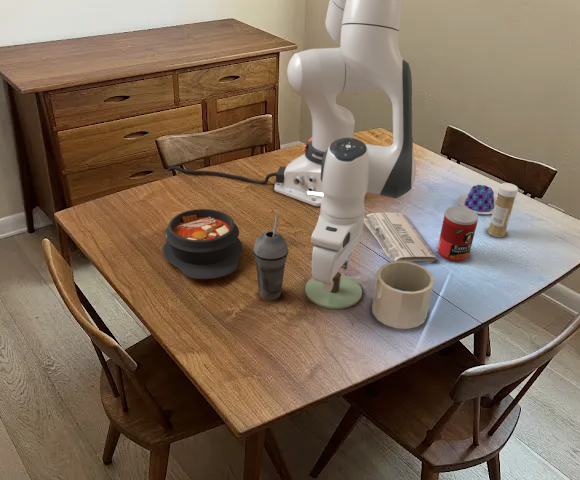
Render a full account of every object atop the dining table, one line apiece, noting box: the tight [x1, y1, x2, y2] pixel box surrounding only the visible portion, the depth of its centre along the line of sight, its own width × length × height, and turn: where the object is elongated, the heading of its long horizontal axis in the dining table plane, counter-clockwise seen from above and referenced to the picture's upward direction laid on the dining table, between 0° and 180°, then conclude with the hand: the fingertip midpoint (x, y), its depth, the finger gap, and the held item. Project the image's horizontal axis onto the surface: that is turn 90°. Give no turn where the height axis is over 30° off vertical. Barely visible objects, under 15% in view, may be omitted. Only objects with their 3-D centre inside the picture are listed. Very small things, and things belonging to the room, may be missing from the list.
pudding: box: [457, 184, 497, 215], centre depth 167 cm, size 12×12×5 cm
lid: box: [304, 271, 363, 310], centre depth 131 cm, size 12×12×5 cm
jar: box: [371, 261, 435, 330], centre depth 126 cm, size 11×11×10 cm
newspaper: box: [363, 211, 438, 264], centre depth 151 cm, size 23×12×2 cm, turn 14°
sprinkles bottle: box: [487, 182, 519, 238], centre depth 153 cm, size 5×5×14 cm
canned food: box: [437, 205, 479, 263], centre depth 145 cm, size 8×8×11 cm
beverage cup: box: [252, 213, 289, 301], centre depth 125 cm, size 7×7×20 cm
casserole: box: [162, 208, 244, 280], centre depth 140 cm, size 25×19×8 cm
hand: (336, 277), depth 130 cm, fingers open, 8 cm apart
